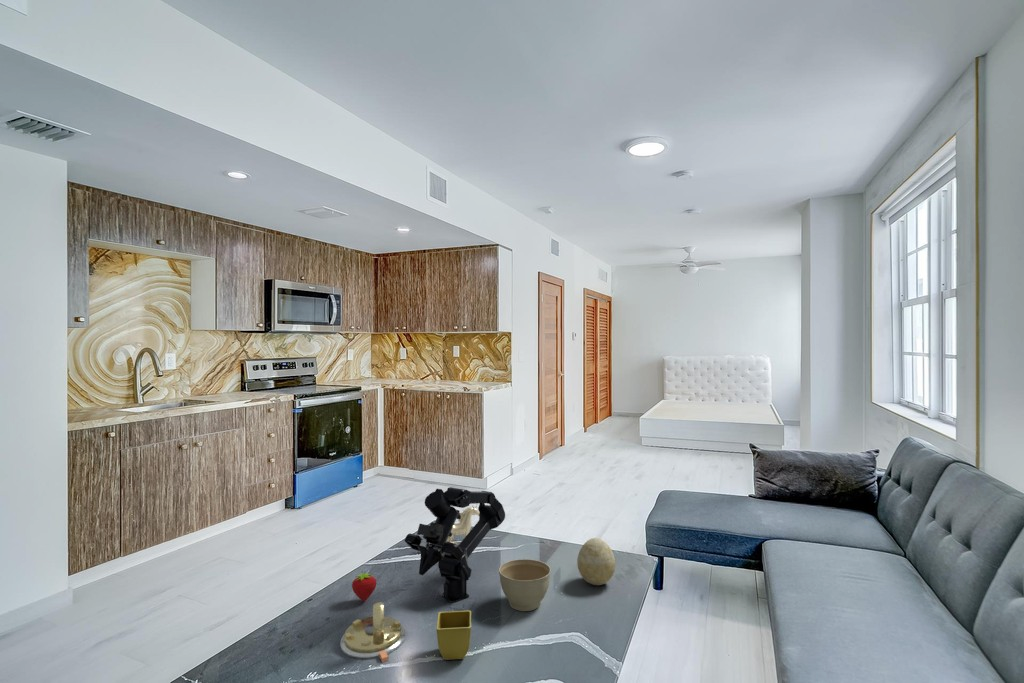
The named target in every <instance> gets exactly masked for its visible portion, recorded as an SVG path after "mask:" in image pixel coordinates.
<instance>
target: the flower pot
mask: <svg viewBox="0 0 1024 683" xmlns="http://www.w3.org/2000/svg"><path fill="white" fill-rule="evenodd" d="M471 631H472V610H454V611H453V610H452V611H451V610H450V611H439V612H438V613H437V622H436V638H437V646H438V647H437V648H438V651H439V653H440V654H441V656H442V659H444V660H445V661H446V660H464V659H465V657H466V656H467V655H468V653H469V649H470V644H471V635H472V634H471V633H472V632H471Z"/></svg>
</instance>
